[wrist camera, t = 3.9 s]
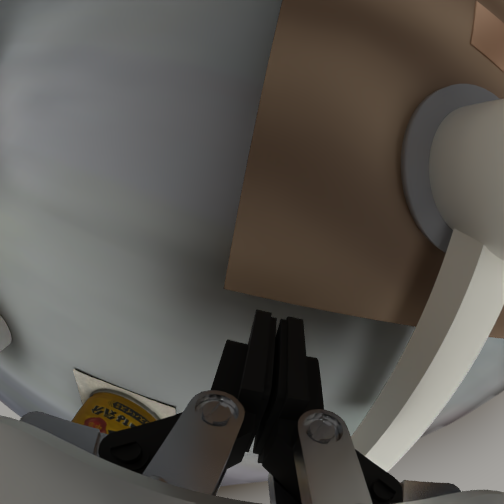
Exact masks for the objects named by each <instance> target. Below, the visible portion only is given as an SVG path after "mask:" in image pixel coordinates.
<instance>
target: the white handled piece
mask: <svg viewBox="0 0 504 504" xmlns="http://www.w3.org/2000/svg"><path fill="white" fill-rule="evenodd" d="M401 179H402V185H403V191H404V195H405V198H406V202H407V205H408V208H409V210H410V213H411V215H412V217H413V219H414V221H415V223H416V225H417V226H418V228H419V229H420V230H421V232H422V233H423V234H424V236H425V237H426V238H427V239H428V240H429V241H430V242H431V243H432V244H434V245H435V246H436V247H437V248H439V249H440V250H442V251H443V252H445V253H446V254H445V257H444V260H443V263H442V266H441V268H440V271H439V274H438V277H437V279H436V282H435V284H434V287H433V289H432V292H431V294H430V297H429V299H428V301H427V304H426V306H425V308H424V311H423V313H422V315H421V317H420V320H419V322H418V324H417V326H416V328H415V330H414V332H413V334H412V336H411V338H410V340H409V342H408V344H407V346H406V348H405V350H404V352H403V354H402V356H401V358H400V360H399V362H398V363H397V365H396V367H395V369H394V371H393V372H392V374H391V376H390V378H389V379H388V381H387V383H386V384H385V386H384V388H383V389H382V391H381V393H380V394H379V396H378V398H377V399H376V401H375V402H374V404H373V405H372V407H371V409H370V410H369V412H368V413H367V415H366V416H365V418H364V419H363V421H362V422H361V423H360V425H359V426H358V428H357V429H356V431H355V432H354V433H353V435H352V436H351V439H352V442H353V445H354V448H355V449H356V450H357V451H359V452H360V453H361V454H363V455H364V456H365V457H367V458H368V459H369V460H371V461H372V462H373V463H375V464H376V465H378V466H379V467H380V468H382V469H383V470H385V471H386V472H388V471H389V470H390V469H391V468H392V467H393V466H394V465H395V464H396V463H397V462H398V461H399V460H400V459H401V458H402V457H403V455H404V454H405V453H406V452H407V451H408V450H409V449H410V448H411V447H412V446H413V445H414V444H415V442H416V441H417V440H418V439H419V438H420V437H421V435H422V434H423V433H424V432H425V431H426V430H427V428H428V427H429V426H430V425H431V423H432V422H433V421H434V420H435V418H436V417H437V416H438V414H439V413H440V412H441V411H442V409H443V408H444V406H445V405H446V404H447V402H448V401H449V400H450V398H451V397H452V395H453V394H454V392H455V391H456V390H457V388H458V387H459V385H460V384H461V382H462V381H463V379H464V377H465V376H466V374H467V373H468V371H469V370H470V368H471V366H472V365H473V363H474V361H475V360H476V358H477V356H478V354H479V353H480V351H481V349H482V347H483V346H484V344H485V342H486V340H487V338H488V336H489V334H490V332H491V330H492V328H493V326H494V324H495V322H496V320H497V318H498V316H499V314H500V312H501V310H502V307H503V305H504V99H499V98H498V97H497V96H496V95H494V94H493V93H491V92H490V91H488V90H486V89H484V88H482V87H479V86H476V85H471V84H455V85H450V86H448V87H445V88H442V89H440V90H437V91H435V92H433V93H432V94H430V95H429V96H427V97H426V98H425V99H424V100H423V101H422V102H421V103H420V104H419V106H418V107H417V108H416V109H415V111H414V113H413V114H412V116H411V118H410V120H409V123H408V125H407V128H406V130H405V134H404V138H403V142H402V150H401Z"/></svg>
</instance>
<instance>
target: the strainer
mask: <svg viewBox="0 0 504 504" xmlns="http://www.w3.org/2000/svg"><path fill="white" fill-rule="evenodd" d="M11 341H12V338H11V334H10V331H9V328H8V326H7V324H6V323H5V321H4V319H3V318H2V317H1V315H0V352H1V351H2V350H3V349H4V348H5V347H7V346H8V345H9V344H10V343H11Z"/></svg>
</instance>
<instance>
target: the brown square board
mask: <svg viewBox="0 0 504 504" xmlns="http://www.w3.org/2000/svg"><path fill="white" fill-rule="evenodd" d="M455 84H471V85H476V86H479V87H482V88H484V89H486V90H488V91H490V92H491V93H493V94H494V95H496V96H497V97H498V98H499V99H504V0H282V5H281V9H280V13H279V17H278V22H277V26H276V30H275V35H274V39H273V43H272V48H271V52H270V57H269V61H268V66H267V70H266V75H265V79H264V84H263V89H262V93H261V98H260V103H259V108H258V112H257V117H256V122H255V127H254V132H253V136H252V141H251V146H250V151H249V156H248V161H247V166H246V171H245V176H244V182H243V187H242V192H241V197H240V202H239V207H238V213H237V218H236V223H235V229H234V234H233V240H232V245H231V251H230V256H229V262H228V267H227V273H226V278H225V284H224V289H227V290H231V291H235V292H240V293H244V294H249V295H253V296H258V297H262V298H267V299H271V300H276V301H281V302H285V303H290V304H295V305H300V306H305V307H310V308H315V309H320V310H325V311H330V312H335V313H340V314H346V315H351V316H356V317H362V318H367V319H373V320H379V321H385V322H391V323H396V324H403V325H409V326H415V327H416V326H417V324H418V322H419V320H420V317H421V315H422V313H423V311H424V308H425V306H426V304H427V301H428V299H429V297H430V294H431V292H432V289H433V287H434V284H435V282H436V279H437V277H438V274H439V271H440V268H441V266H442V263H443V260H444V257H445V254H446V253H445V252H443V251H442V250H440V249H439V248H437V247H436V246H435V245H434V244H432V243H431V242H430V241H429V240H428V239H427V238H426V237H425V236H424V234H423V233H422V232H421V230H420V229H419V228H418V226H417V225H416V223H415V221H414V219H413V217H412V215H411V213H410V210H409V208H408V205H407V202H406V198H405V195H404V191H403V185H402V179H401V150H402V142H403V138H404V134H405V130H406V128H407V125H408V123H409V120H410V118H411V116H412V114H413V113H414V111H415V109H416V108H417V107H418V106H419V104H420V103H421V102H422V101H423V100H424V99H425V98H426V97H427V96H429V95H430V94H432V93H433V92H435V91H437V90H440V89H442V88H445V87H448V86H450V85H455ZM488 337H495V338H504V305H503V307H502V310H501V312H500V314H499V316H498V318H497V320H496V322H495V324H494V326H493V328H492V330H491V332H490V334H489V336H488Z"/></svg>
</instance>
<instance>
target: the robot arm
mask: <svg viewBox="0 0 504 504" xmlns="http://www.w3.org/2000/svg"><path fill="white" fill-rule="evenodd" d="M271 315H272V313H270V312H265V311H261V310H256V314H255V318H254V322H253V326H252V330H251V334H250V338H249V342H248V344H244V343H239V342H235V341H231V340H227V341H226V344H225V347H224V350H223V353H222V357H221V360H220V363H219V366H218V369H217V372H216V375H215V378H214V382H213V385H212V388H211V390H208V391H204V392H201V393H199V394H197V395H195V396H194V397H193V398H192V399H191V401H190V402H189V404H188V405H187V407H186V408H185V410H184V411H183V412H182V413H179V414H176V415H173V416H170V417H166V418H163V419H160V420H156V421H153V422H149V423H146V424H142V425H139V426H135V427H131V428H127V429H123V430H119V431H115V432H113V433H110V434H105V433H101V432H100V431H99V429H97V428H93V427H89V426H85V425H81V424H78V423H74V422H71V421H67V420H64V419H61V418H58V417H55V416H52V415H49V414H46V413H43V412H37V411H35V412H29V413H27V414H25V415H24V416H23V417H22V418H21V420H20V421H19V420H16V419H12V418H9V417H5V416H0V504H259V503H252V502H245V501H240V500H233V499H229V498H223V497H219V496H216V494H217V491H218V489H219V487H220V485H221V482H222V480H223V478H224V475H225V473H226V471H227V469H228V468H230V467H232V466H234V465H236V464H238V463H240V462H241V461H242V459H243V456H244V454H245V452H249V449H250V447H251V444H252V442H253V439H254V437H255V441H254V448H253V453H255V454H259V456H258V463H262V466H263V467H264V468H265V469H266V470H267V471H268V472H269V475H268V483H269V495H270V504H504V492H500V491H492V490H470V491H462V492H461V491H460V490H459V488H458V487H457V486H455V485H454V484H450V483H433V482H418V481H408V480H404V481H403V482H401V483H400V482H398V481H397V480H396V479H395V478H394V477H393V476H392V475H390V474H389V473H387V472H386V471H385V470H383V469H382V468H380V467H379V466H378V465H376V464H375V463H373V462H372V461H371V460H369V459H368V458H367V457H365V456H364V455H363V454H361V453H360V452H359V451H357V450H356V449H355V448H354V445H353V442H352V439H351V436H350V434H349V431H348V428H347V426H346V424H345V422H344V421H343V420H342V419H341V418H340V417H339V416H338V415H336V414H335V413H333V412H330V411H327V410H324V405H323V396H322V387H321V378H320V370H319V362H318V359H317V358H313V357H308V356H306V348H305V336H304V324H303V320H302V319H298V318H293V317H287V319H286V320H283V319H281V320H280V323H279V327H278V330H277V333H276V321H277V318H274V317H271ZM275 336H276V337H275Z"/></svg>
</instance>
